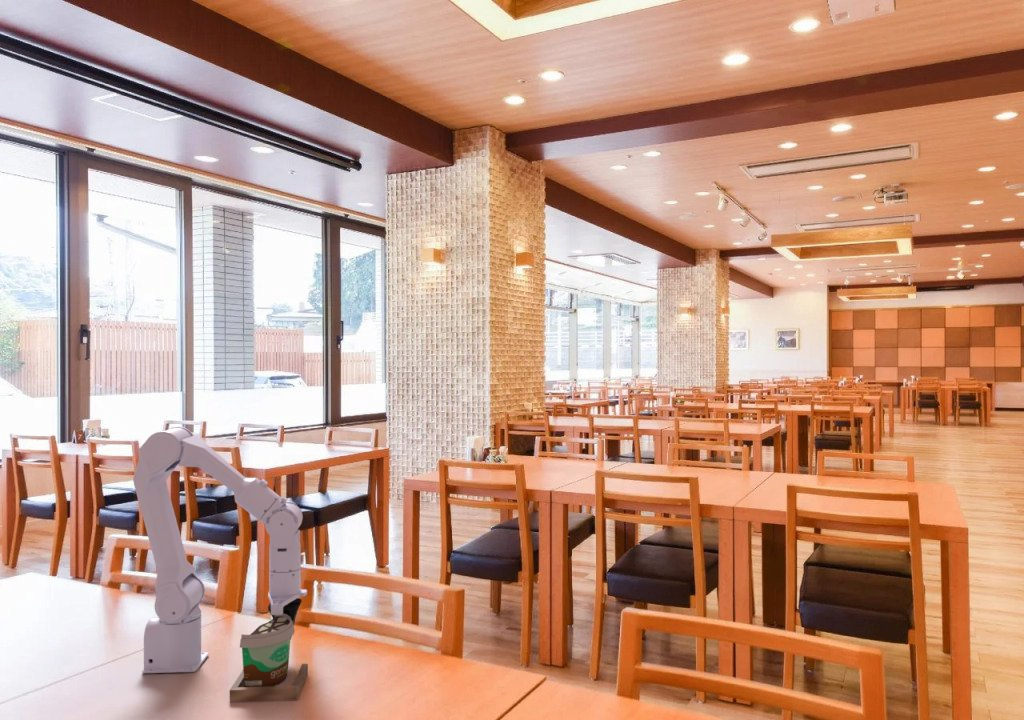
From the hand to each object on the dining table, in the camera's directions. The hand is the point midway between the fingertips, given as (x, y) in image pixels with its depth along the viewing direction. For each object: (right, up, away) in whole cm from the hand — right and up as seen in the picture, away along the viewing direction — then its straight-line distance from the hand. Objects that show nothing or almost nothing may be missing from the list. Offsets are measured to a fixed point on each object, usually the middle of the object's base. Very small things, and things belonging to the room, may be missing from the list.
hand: (285, 639), depth 144 cm
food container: (+1, -4, -8) cm, 9 cm away
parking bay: (+1, -4, -11) cm, 12 cm away
